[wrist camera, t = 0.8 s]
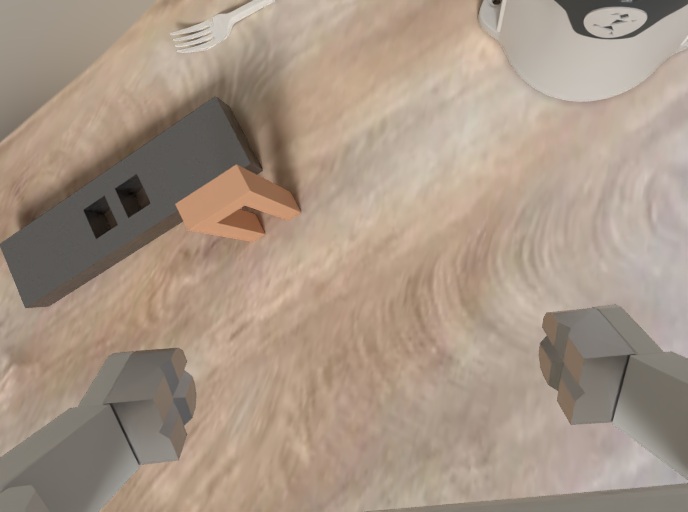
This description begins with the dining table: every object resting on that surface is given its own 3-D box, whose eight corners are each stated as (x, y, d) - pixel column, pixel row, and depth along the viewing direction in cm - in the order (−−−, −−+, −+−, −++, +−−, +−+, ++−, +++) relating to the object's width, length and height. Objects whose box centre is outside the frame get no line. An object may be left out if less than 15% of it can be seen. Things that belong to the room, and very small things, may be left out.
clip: (242, 221, 49) (175, 204, 37) (290, 192, 48) (236, 164, 36) (252, 241, 48) (187, 230, 37) (301, 212, 47) (250, 190, 36)
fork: (352, -26, 48) (348, -38, 46) (187, 63, 52) (177, 55, 50) (341, -52, 49) (336, -66, 47) (177, 38, 52) (168, 29, 50)
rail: (23, 246, 55) (-1, 244, 52) (229, 106, 50) (215, 96, 47) (48, 306, 54) (25, 307, 51) (262, 170, 49) (250, 163, 46)
